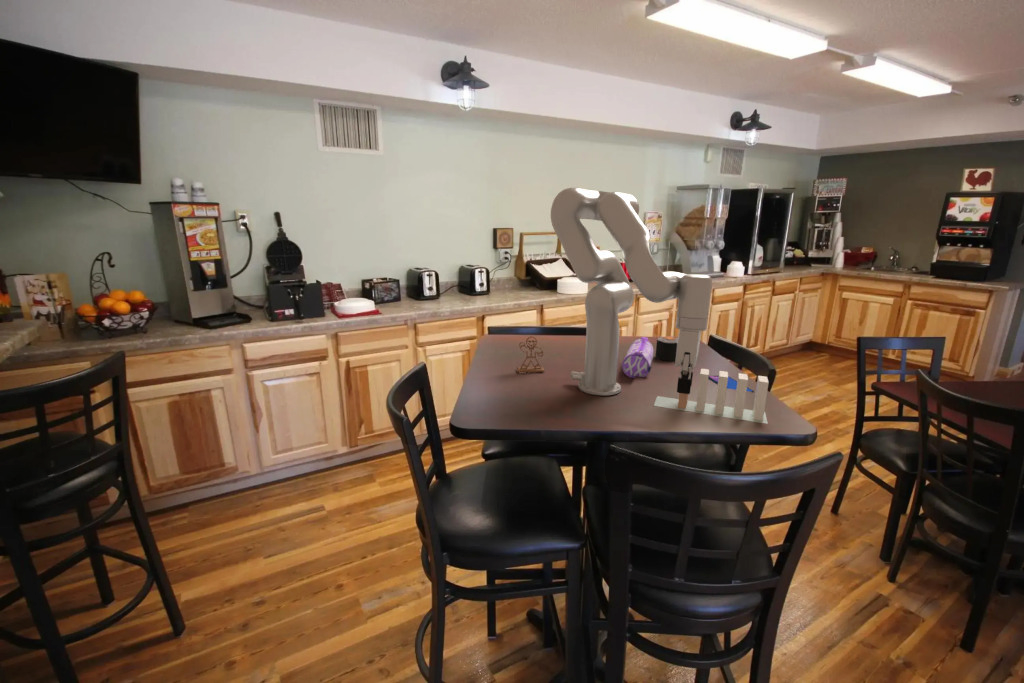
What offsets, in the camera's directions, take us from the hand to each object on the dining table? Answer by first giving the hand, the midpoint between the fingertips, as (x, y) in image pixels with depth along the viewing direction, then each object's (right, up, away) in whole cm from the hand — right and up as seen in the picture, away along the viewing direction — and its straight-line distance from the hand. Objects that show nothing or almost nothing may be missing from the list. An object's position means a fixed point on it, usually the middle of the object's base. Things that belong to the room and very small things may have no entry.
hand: (684, 388), depth 124 cm
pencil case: (-3, +2, +36) cm, 36 cm away
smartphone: (+22, -2, +22) cm, 31 cm away
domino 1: (0, -5, +1) cm, 5 cm away
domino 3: (+8, -6, -2) cm, 10 cm away
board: (+6, -6, -1) cm, 9 cm away
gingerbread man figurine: (-40, +2, +32) cm, 51 cm away
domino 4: (+12, -6, -4) cm, 14 cm away
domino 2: (+4, -5, -1) cm, 6 cm away
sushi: (+12, +6, +50) cm, 52 cm away
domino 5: (+16, -7, -6) cm, 19 cm away
